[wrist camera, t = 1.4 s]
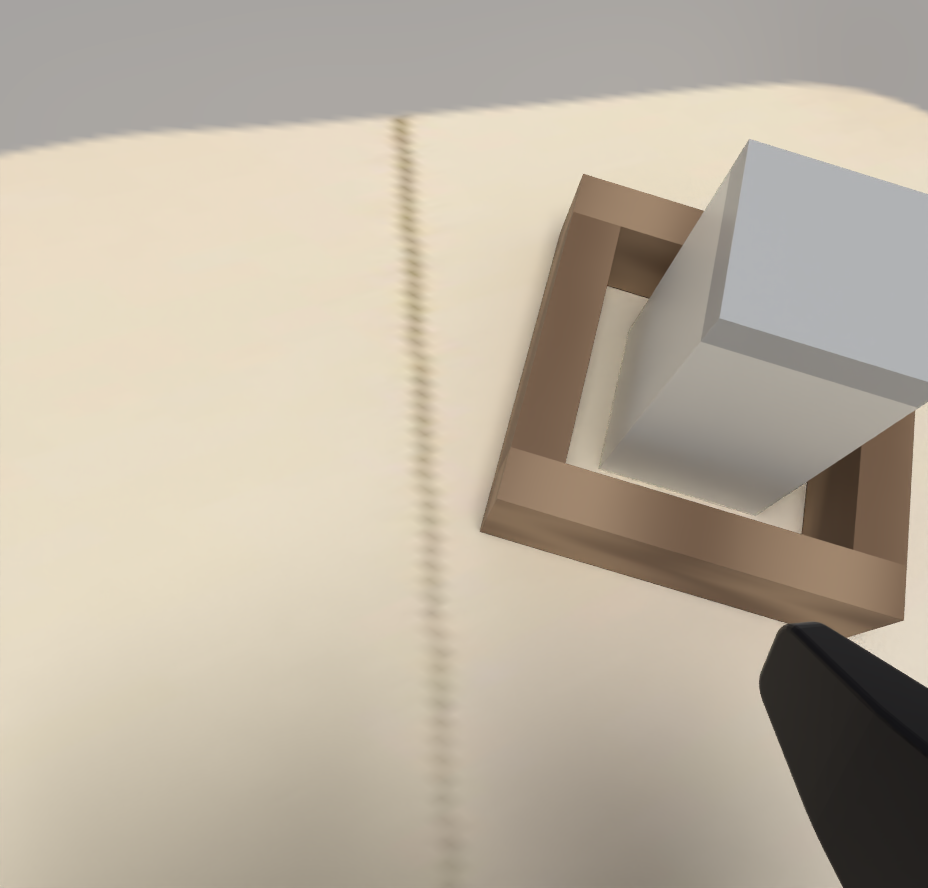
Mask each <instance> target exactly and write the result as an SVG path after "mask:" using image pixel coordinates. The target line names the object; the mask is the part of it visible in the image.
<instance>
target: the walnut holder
mask: <svg viewBox="0 0 928 888" xmlns="http://www.w3.org/2000/svg"><path fill="white" fill-rule="evenodd" d="M703 212H704V211H702V210H699V209H696V208H693V207H689V206H686V205H683V204H680V203H676V202H673V201H670V200H667V199H663V198H660V197H657V196H654V195H650V194H647V193H644V192H641V191H637V190H634V189H631V188H628V187H624V186H621V185H618V184H615V183H611V182H608V181H605V180H602V179H598V178H595V177H592V176H589V175H585V174H583V176H582V179H581V181H580V184H579V186H578V189H577V191H576V194H575V197H574V199H573V202H572V204H571V207H570V209H569V212H568V214H567V217H566V220H565V222H564V225H563V227H562V230H561V232H560V236H559V240H558V243H557V247H556V251H555V254H554V258H553V262H552V265H551V269H550V273H549V277H548V280H547V284H546V288H545V291H544V295H543V299H542V303H541V306H540V310H539V314H538V317H537V321H536V325H535V328H534V332H533V336H532V340H531V343H530V347H529V351H528V354H527V358H526V362H525V365H524V369H523V373H522V377H521V380H520V384H519V388H518V391H517V395H516V399H515V403H514V406H513V410H512V414H511V417H510V421H509V425H508V428H507V432H506V436H505V440H504V443H503V447H502V451H501V454H500V458H499V462H498V465H497V469H496V473H495V477H494V480H493V484H492V488H491V491H490V495H489V499H488V503H487V506H486V510H485V514H484V517H483V521H482V525H481V528H480V532H483V533H487V534H490V535H494V536H497V537H500V538H504V539H507V540H510V541H514V542H517V543H520V544H524V545H527V546H530V547H534V548H537V549H540V550H544V551H547V552H551V553H554V554H557V555H561V556H564V557H567V558H571V559H574V560H577V561H581V562H584V563H587V564H591V565H594V566H598V567H601V568H604V569H608V570H611V571H614V572H618V573H621V574H624V575H628V576H631V577H634V578H638V579H641V580H644V581H648V582H651V583H655V584H658V585H661V586H665V587H668V588H671V589H675V590H678V591H681V592H685V593H688V594H691V595H695V596H698V597H702V598H705V599H708V600H712V601H715V602H718V603H722V604H725V605H728V606H732V607H735V608H738V609H742V610H745V611H748V612H752V613H755V614H759V615H762V616H765V617H769V618H772V619H775V620H779V621H782V622H785V623H789V624H791V623H801V622H813V621H814V622H820V623H823V624H824V625H826V626H828V627H830V628H831V629H833V630H835V631H836V632H838V633H839V634H841V635H843V636H844V637H846V638H847V637H850V636H853V635H857V634H860V633H863V632H867V631H870V630H873V629H877V628H880V627H883V626H887V625H890V624H893V623H897V622H900V621H903V620H904V607H905V588H906V570H907V551H908V533H909V514H910V496H911V477H912V458H913V440H914V421H915V411H913V412H912V413H910V414H909V415H907V416H906V417H904V418H902V419H901V420H899V421H898V422H896V423H895V424H893V425H892V426H890V427H889V428H887V429H886V430H884V431H883V432H881V433H880V434H878V435H877V436H875V437H874V438H872V439H871V440H869V441H868V442H866V443H865V444H863V445H862V446H860V447H859V448H857V449H856V450H854V451H853V452H851V453H850V454H848V455H846V456H845V457H843V458H842V459H840V460H839V461H837V462H836V463H834V464H833V465H831V466H830V467H828V468H827V469H825V470H824V471H822V472H821V473H819V474H818V475H816V476H815V477H813V478H812V479H810V480H809V481H808V484H807V493H806V502H805V511H804V521H803V530H802V534H799V533H795V532H792V531H789V530H785V529H782V528H779V527H775V526H772V525H769V524H765V523H762V522H759V521H755V520H752V519H749V518H745V517H742V516H739V515H735V514H732V513H729V512H725V511H722V510H719V509H715V508H712V507H709V506H706V505H702V504H699V503H696V502H692V501H689V500H686V499H682V498H679V497H676V496H672V495H669V494H666V493H662V492H659V491H656V490H652V489H649V488H646V487H642V486H639V485H636V484H632V483H629V482H626V481H622V480H619V479H616V478H612V477H609V476H606V475H602V474H599V473H596V472H592V471H589V470H586V469H582V468H579V467H576V466H572V465H569V464H566V463H565V462H566V458H567V454H568V450H569V445H570V441H571V437H572V433H573V428H574V424H575V420H576V416H577V411H578V407H579V403H580V398H581V394H582V390H583V386H584V381H585V377H586V373H587V369H588V364H589V360H590V356H591V352H592V347H593V343H594V339H595V335H596V330H597V326H598V322H599V318H600V313H601V309H602V305H603V301H604V296H605V292H606V288H607V285H608V286H612V287H615V288H618V289H621V290H625V291H628V292H631V293H635V294H638V295H641V296H644V297H648V298H650V297H651V295H652V294H653V292H654V290H655V289H656V287H657V286H658V284H659V282H660V281H661V279H662V278H663V276H664V274H665V273H666V271H667V270H668V268H669V266H670V265H671V263H672V262H673V260H674V258H675V257H676V255H677V254H678V252H679V250H680V249H681V247H682V246H683V244H684V242H685V241H686V239H687V238H688V236H689V234H690V233H691V231H692V230H693V228H694V227H695V225H696V223H697V222H698V220H699V219H700V217H701V215H702V214H703Z"/></svg>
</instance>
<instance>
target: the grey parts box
mask: <svg viewBox="0 0 928 888" xmlns="http://www.w3.org/2000/svg"><path fill="white" fill-rule="evenodd" d="M927 402H928V194H925V193H922V192H919V191H916V190H912V189H909V188H906V187H903V186H899V185H896V184H893V183H890V182H887V181H883V180H880V179H877V178H874V177H870V176H867V175H864V174H861V173H858V172H854V171H851V170H848V169H845V168H841V167H838V166H835V165H832V164H829V163H825V162H822V161H819V160H816V159H812V158H809V157H806V156H803V155H800V154H796V153H793V152H790V151H787V150H783V149H780V148H777V147H774V146H771V145H767V144H764V143H761V142H758V141H754V140H751V139H749V140H748V142H747V144H746V145H745V147H744V148H743V150H742V152H741V153H740V155H739V156H738V158H737V160H736V161H735V163H734V164H733V166H732V167H731V169H730V171H729V172H728V174H727V175H726V177H725V179H724V180H723V182H722V183H721V185H720V187H719V188H718V190H717V191H716V193H715V195H714V196H713V198H712V199H711V201H710V203H709V204H708V206H707V207H706V209H705V211H704V212H703V214H702V215H701V217H700V219H699V220H698V222H697V223H696V225H695V227H694V228H693V230H692V231H691V233H690V234H689V236H688V238H687V239H686V241H685V242H684V244H683V246H682V247H681V249H680V250H679V252H678V254H677V255H676V257H675V258H674V260H673V262H672V263H671V265H670V266H669V268H668V270H667V271H666V273H665V274H664V276H663V278H662V279H661V281H660V282H659V284H658V286H657V287H656V289H655V290H654V292H653V294H652V295H651V297H650V298H649V300H648V302H647V303H646V305H645V306H644V308H643V309H642V311H641V313H640V314H639V316H638V317H637V319H636V321H635V322H634V324H633V325H632V327H631V329H630V330H629V332H628V336H627V340H626V345H625V349H624V354H623V359H622V363H621V368H620V372H619V377H618V382H617V386H616V391H615V396H614V400H613V405H612V409H611V414H610V419H609V423H608V428H607V432H606V437H605V442H604V446H603V451H602V455H601V460H600V465H599V469H601V470H604V471H607V472H611V473H614V474H617V475H621V476H624V477H627V478H631V479H634V480H637V481H641V482H644V483H647V484H651V485H654V486H657V487H660V488H664V489H667V490H670V491H674V492H677V493H680V494H684V495H687V496H690V497H694V498H697V499H700V500H704V501H707V502H710V503H714V504H717V505H720V506H724V507H727V508H730V509H734V510H737V511H740V512H744V513H747V514H750V515H754V516H756V515H757V514H759V513H760V512H762V511H763V510H765V509H766V508H768V507H769V506H771V505H772V504H774V503H775V502H777V501H778V500H780V499H781V498H783V497H784V496H786V495H787V494H789V493H790V492H792V491H794V490H795V489H797V488H798V487H800V486H801V485H803V484H804V483H806V482H807V481H809V480H810V479H812V478H813V477H815V476H816V475H818V474H819V473H821V472H822V471H824V470H825V469H827V468H828V467H830V466H831V465H833V464H834V463H836V462H837V461H839V460H840V459H842V458H843V457H845V456H846V455H848V454H850V453H851V452H853V451H854V450H856V449H857V448H859V447H860V446H862V445H863V444H865V443H866V442H868V441H869V440H871V439H872V438H874V437H875V436H877V435H878V434H880V433H881V432H883V431H884V430H886V429H887V428H889V427H890V426H892V425H893V424H895V423H896V422H898V421H899V420H901V419H902V418H904V417H906V416H907V415H909V414H910V413H912V412H913V411H915V410H916V409H918V408H919V407H921V406H922V405H924V404H925V403H927Z"/></svg>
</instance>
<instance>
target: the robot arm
mask: <svg viewBox="0 0 928 888" xmlns="http://www.w3.org/2000/svg"><path fill="white" fill-rule="evenodd" d="M759 689H760V694H761V697H762V701H763V703H764V706H765V708H766V711H767V713H768V716H769V718H770V721H771V724H772V726H773V729H774V731H775V734H776V736H777V739H778V741H779V744H780V746H781V749H782V751H783V754H784V757H785V759H786V762H787V764H788V767H789V769H790V772H791V774H792V777H793V779H794V782H795V785H796V787H797V790H798V792H799V795H800V797H801V800H802V802H803V805H804V807H805V810H806V812H807V814H808V817H809V819H810V821H811V824H812V826H813V828H814V830H815V832H816V835H817V837H818V839H819V841H820V843H821V845H822V847H823V849H824V851H825V853H826V855H827V857H828V859H829V861H830V863H831V865H832V867H833V869H834V871H835V873H836V875H837V877H838V879H839V881H840V883H841V885H842V887H843V888H928V688H927V687H925V686H923V685H922V684H920V683H919V682H917V681H915V680H914V679H912V678H910V677H909V676H907V675H906V674H904V673H902V672H901V671H899V670H898V669H896V668H894V667H893V666H891V665H889V664H888V663H886V662H885V661H883V660H881V659H880V658H878V657H877V656H875V655H873V654H872V653H870V652H868V651H867V650H865V649H864V648H862V647H860V646H859V645H857V644H856V643H854V642H852V641H851V640H849V639H847V638H846V637H844V636H843V635H841V634H839V633H838V632H836V631H835V630H833V629H831V628H830V627H828V626H826V625H824V624H823V623H820V622H814V621H813V622H801V623H791V624H786V625H784V626H783V627H782V628H780V629H779V631H778V632H777V634H776V637H775V639H774V642H773V644H772V646H771V649H770V651H769V654H768V656H767V659H766V661H765V663H764V666H763V668H762V671H761V674H760V679H759Z"/></svg>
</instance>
